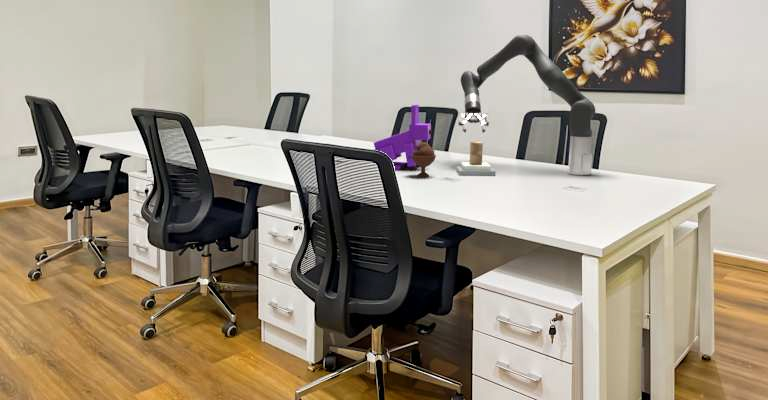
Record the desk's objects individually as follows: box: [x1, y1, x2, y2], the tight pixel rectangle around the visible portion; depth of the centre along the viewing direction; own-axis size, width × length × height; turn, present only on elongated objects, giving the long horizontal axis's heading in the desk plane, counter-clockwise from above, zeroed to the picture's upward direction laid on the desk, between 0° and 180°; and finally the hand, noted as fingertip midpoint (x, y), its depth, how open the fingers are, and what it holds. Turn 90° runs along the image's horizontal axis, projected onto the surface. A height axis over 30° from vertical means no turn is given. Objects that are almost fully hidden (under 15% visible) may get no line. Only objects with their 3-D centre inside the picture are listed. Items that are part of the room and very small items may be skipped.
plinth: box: [456, 161, 496, 177], centre depth 292 cm, size 16×16×4 cm
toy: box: [373, 104, 432, 171], centre depth 303 cm, size 14×28×30 cm, turn 76°
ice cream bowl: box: [411, 141, 437, 178], centre depth 281 cm, size 11×11×15 cm
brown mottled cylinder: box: [469, 141, 484, 165], centre depth 291 cm, size 5×5×10 cm
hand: (474, 131), depth 297 cm, fingers open, 8 cm apart
